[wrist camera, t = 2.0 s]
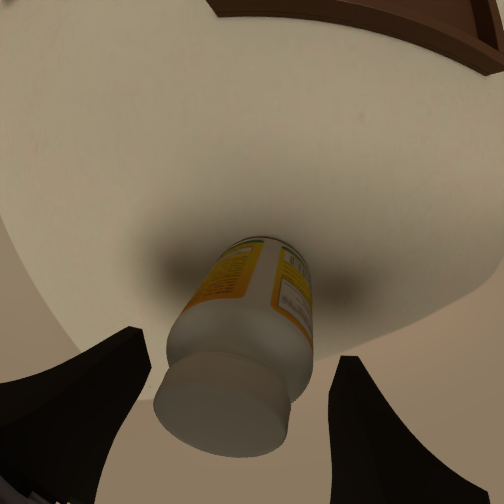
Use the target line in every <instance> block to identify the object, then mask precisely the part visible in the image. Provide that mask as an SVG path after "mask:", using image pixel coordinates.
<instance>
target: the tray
mask: <svg viewBox="0 0 504 504" xmlns="http://www.w3.org/2000/svg"><path fill="white" fill-rule="evenodd" d="M206 1H207V3H208V4H209V5H210V7H211V8H212V9H213V11H214V12H215V14H216V15H217V17H226V16H274V17H290V18H301V19H310V20H318V21H325V22H331V23H337V24H343V25H348V26H353V27H358V28H362V29H366V30H370V31H374V32H378V33H382V34H385V35H389V36H392V37H396V38H399V39H402V40H405V41H408V42H411V43H414V44H417V45H419V46H422V47H425V48H427V49H430V50H432V51H435V52H437V53H440V54H442V55H444V56H447V57H449V58H451V59H453V60H456V61H458V62H460V63H462V64H464V65H466V66H468V67H470V68H472V69H474V70H476V71H478V72H479V73H481V74H483V75H485V76H487V75H490V74H495V73H499V72H503V71H504V30H503V26H502V22H501V18H500V14H499V10H498V6H497V3H496V0H206Z"/></svg>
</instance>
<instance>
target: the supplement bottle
mask: <svg viewBox="0 0 504 504" xmlns="http://www.w3.org/2000/svg"><path fill="white" fill-rule="evenodd" d="M166 354H167V360H168V364H169V367H170V368H169V369H168V371H167V372H166V374H165V376H164V379H163V381H162V383H161V385H160V387H159V389H158V391H157V393H156V395H155V398H154V403H153V405H154V411H155V413H156V416H157V418H158V419H159V421H160V422H161V424H162V425H163V426H164V427H165V428H166V429H167V430H168V431H169V432H170V433H171V434H172V435H174V436H175V437H176V438H178V439H179V440H181V441H183V442H184V443H186V444H188V445H190V446H192V447H194V448H197V449H199V450H202V451H205V452H208V453H211V454H215V455H220V456H226V457H237V458H242V457H256V456H261V455H264V454H268V453H270V452H272V451H274V450H275V449H277V448H278V447H279V446H280V445H282V443H283V442H284V440H285V438H286V435H287V430H288V422H289V415H290V411H291V403H293V402H294V401H295V400H296V399H297V398H298V397H299V396H300V395H301V394H302V393H303V391H304V390H305V388H306V387H307V385H308V383H309V381H310V378H311V375H312V370H313V321H312V294H311V281H310V275H309V271H308V269H307V266H306V264H305V263H304V261H303V259H302V258H301V257H300V255H299V254H298V253H297V252H296V251H295V250H293V249H292V248H291V247H289V246H288V245H286V244H284V243H282V242H280V241H277V240H274V239H269V238H251V239H247V240H244V241H241V242H239V243H236V244H235V245H233V246H231V247H230V248H229V249H227V250H226V251H225V252H224V253H223V254H222V255H221V257H220V258H219V259H218V260H217V262H216V264H215V265H214V267H213V268H212V269H211V271H210V272H209V274H208V275H207V277H206V278H205V280H204V281H203V282H202V284H201V285H200V287H199V288H198V290H197V291H196V292H195V294H194V295H193V297H192V298H191V300H190V301H189V302H188V304H187V305H186V307H185V308H184V309H183V311H182V312H181V314H180V315H179V317H178V318H177V320H176V321H175V323H174V325H173V326H172V328H171V330H170V333H169V336H168V339H167V345H166Z"/></svg>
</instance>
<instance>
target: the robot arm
mask: <svg viewBox="0 0 504 504" xmlns="http://www.w3.org/2000/svg"><path fill="white" fill-rule="evenodd" d="M151 368H152V367H151V363H150V359H149V356H148V352H147V348H146V343H145V339H144V335H143V330H142V329H139V328H135V327H131V326H128V327H126V328H124V329H122V330H121V331H119V332H117V333H115V334H114V335H112V336H110V337H109V338H107V339H105V340H104V341H102V342H100V343H99V344H97V345H95V346H93V347H92V348H90V349H88V350H87V351H85V352H83V353H81V354H79V355H77V356H76V357H74V358H72V359H70V360H68V361H66V362H64V363H62V364H60V365H58V366H56V367H53V368H51V369H48V370H46V371H43V372H41V373H38V374H35V375H32V376H29V377H25V378H22V379H19V380H15V381H11V382H6V383H0V504H55V503H56V502H59V503H60V504H67V502H69V503H70V504H94V502H95V497H96V492H97V488H98V484H99V480H100V477H101V473H102V470H103V467H104V464H105V461H106V459H107V456H108V453H109V451H110V448H111V446H112V443H113V441H114V438H115V436H116V434H117V432H118V430H119V428H120V427H121V425H122V423H123V422H124V420H125V418H126V417H127V415H128V413H129V412H130V410H131V408H132V406H133V405H134V403H135V401H136V400H137V398H138V396H139V395H140V393H141V391H142V389H143V387H144V385H145V383H146V380H147V378H148V375H149V373H150V370H151ZM328 423H329V435H330V447H331V461H332V487H331V499H330V504H490V499H489V495H488V492H487V491H485V490H483V489H482V488H480V487H478V486H476V485H474V484H472V483H471V482H469V481H467V480H465V479H464V478H462V477H461V476H459V475H458V474H457V473H455V472H454V471H452V470H451V469H450V468H448V467H447V466H446V465H445V464H443V463H442V462H441V461H440V460H438V459H437V458H436V457H435V456H434V455H433V454H432V453H431V452H430V451H429V450H427V449H426V448H425V447H424V446H423V445H422V444H421V443H420V442H419V440H418V439H417V438H416V437H415V436H414V435H413V434H412V433H411V432H410V431H409V429H408V428H407V427H406V426H405V425H404V423H403V422H402V421H401V420H400V418H399V417H398V416H397V415H396V413H395V412H394V410H393V409H392V408H391V406H390V405H389V403H388V402H387V401H386V399H385V398H384V396H383V395H382V394H381V392H380V390H379V389H378V387H377V386H376V384H375V383H374V381H373V380H372V378H371V376H370V375H369V373H368V371H367V370H366V368H365V367H364V365H363V363H362V362H361V360H360V358H359V357H358V356H341V357H340V360H339V364H338V367H337V370H336V373H335V376H334V379H333V382H332V385H331V388H330V391H329V400H328Z"/></svg>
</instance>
